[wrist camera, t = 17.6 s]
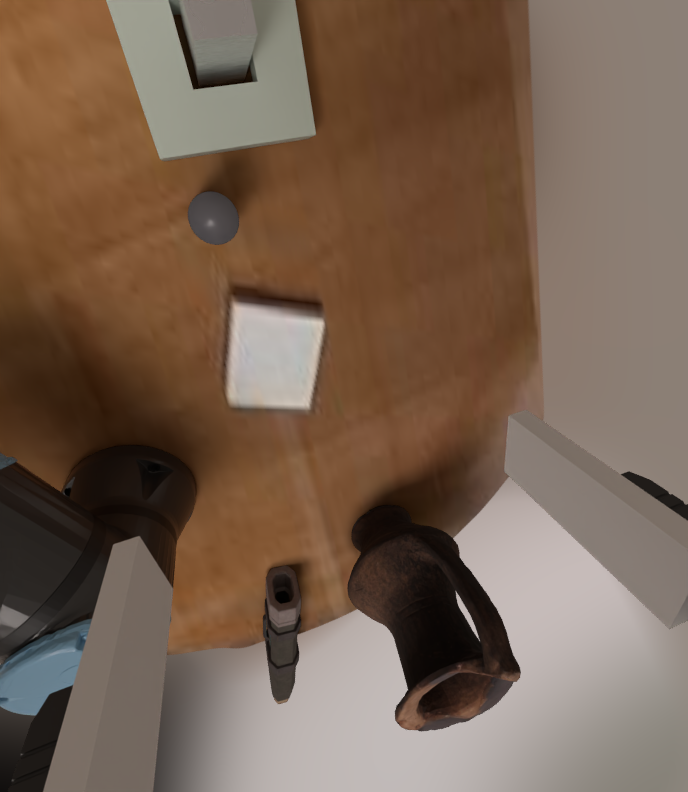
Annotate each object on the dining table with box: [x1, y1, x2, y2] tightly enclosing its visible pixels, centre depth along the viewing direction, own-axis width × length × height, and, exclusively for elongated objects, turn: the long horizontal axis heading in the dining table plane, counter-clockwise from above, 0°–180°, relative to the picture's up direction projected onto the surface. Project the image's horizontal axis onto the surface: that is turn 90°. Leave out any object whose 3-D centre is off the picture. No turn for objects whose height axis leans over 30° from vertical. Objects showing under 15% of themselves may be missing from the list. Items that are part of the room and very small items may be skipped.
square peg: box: [178, 0, 258, 86], centre depth 28 cm, size 4×4×12 cm
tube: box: [263, 566, 301, 704], centre depth 68 cm, size 11×7×30 cm
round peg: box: [188, 191, 239, 245], centre depth 35 cm, size 4×4×8 cm
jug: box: [348, 505, 521, 731], centre depth 54 cm, size 21×18×30 cm
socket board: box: [106, 0, 316, 161], centre depth 32 cm, size 14×14×3 cm
